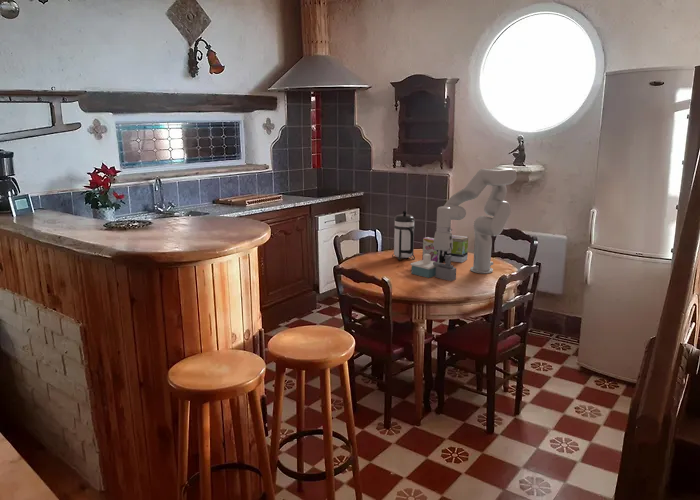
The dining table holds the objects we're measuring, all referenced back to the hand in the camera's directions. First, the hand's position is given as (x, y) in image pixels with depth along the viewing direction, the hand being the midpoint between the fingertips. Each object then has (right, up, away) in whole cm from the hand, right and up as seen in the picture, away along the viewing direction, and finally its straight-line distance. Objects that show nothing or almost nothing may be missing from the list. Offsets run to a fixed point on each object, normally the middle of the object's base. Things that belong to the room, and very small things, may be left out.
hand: (442, 262), depth 300 cm
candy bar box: (-2, -3, +26) cm, 26 cm away
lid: (-7, -2, +8) cm, 11 cm away
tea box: (+13, +1, +39) cm, 42 cm away
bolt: (+1, -2, 0) cm, 2 cm away
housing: (-3, -8, +5) cm, 9 cm away
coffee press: (-16, +1, +42) cm, 45 cm away
